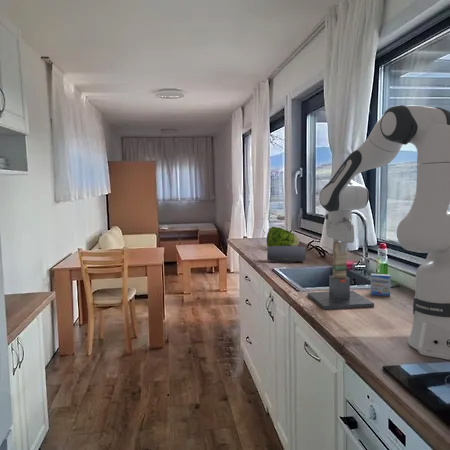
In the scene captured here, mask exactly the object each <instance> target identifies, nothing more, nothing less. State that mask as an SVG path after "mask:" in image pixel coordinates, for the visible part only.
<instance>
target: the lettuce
mask: <svg viewBox="0 0 450 450" xmlns="http://www.w3.org/2000/svg"><path fill="white" fill-rule="evenodd" d="M299 244H300V239H299V237H298V236H297V235H295V234H294V233H292V232H291V231H289V230H287V229H284V228H282V227H277V226H271V227H270V228H269V229H268V231H267V235H266V246H267V248H268V247H270V246H299Z"/></svg>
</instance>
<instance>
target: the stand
mask: <svg viewBox="0 0 450 450" xmlns="http://www.w3.org/2000/svg"><path fill="white" fill-rule="evenodd" d="M328 278H329V280H328V281H329V282H328V289H329V290H328V291H318V292H317V291H314V292H313V291H312V292H307V297H308V298H310V300H312V301H313V302H314V303H315V304H316V305H318V307H320V308H321V309H322V310H324V311H326V310H327V311H328V310H346V309H363V308H365V309H366V308H375V303H374V302H373V301H372V300H369V299H368V298H366V297H365V296H363V295H361V294H359V293H357V292H356V291H354V290H351V278H350V277H348V276H346V278H339V279H336V278H334V277H333V275H329V277H328Z"/></svg>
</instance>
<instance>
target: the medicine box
mask: <svg viewBox="0 0 450 450" xmlns="http://www.w3.org/2000/svg"><path fill="white" fill-rule="evenodd" d="M391 280H392V279H391V274H389V273H388V274H387V273H384V274H383V273H371V274H370V295H371V296H382V297H390V296H391Z"/></svg>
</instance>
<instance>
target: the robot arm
mask: <svg viewBox="0 0 450 450" xmlns="http://www.w3.org/2000/svg"><path fill="white" fill-rule="evenodd" d="M371 129H372V130H371V132H370V133H369V135H368V136H367V138H366V139H365V141H364V142H363V143H362V144H361V145H360V146H359V147H357V149H355V150H353V152H350V154H349V155H348V156H347V157H346V158H345V160H344V161H343V162H342V163H341V165H340V167H339V168H338V169H337V170H336V172H335V173H334V174H333V177H332V178H331V179H330V181H328V182H327V183H326V184H325V185H324V186H323V187H322V189H321V190H320V193H319V203H320V205H321V207H323V209H325V210H326V211H327V213H326V214H325V216H324V217H325V218H324V219H325V220H326V222H325V224H326V225H325V227H326V229H325V231H326V235H327V237H328V238H330V239H332V243H333V242H340V244H341V247H340V252H342V253H343V252H345V248H346V245H347V244H349V243H350V244H352V243H353V244H354V242H355V228H354V227H355V226H354V224H353V223H352V218H353V217H352V216H353V215H352V212H353V211H352V210H361V209H364V208H366V206H367V205H368V203H369V200H370V194H369V193H370V192H369V190H368V187H366V186H365V185H363V184H360V183H358V182H355V181H354V180H353V179H354V177H356V176H357V175H359V174H361V173H363V172H366V171H369V170H372V169H377V168H381V167H385V166H387V165H389V164H390V163H391V162H393V160H394V159H395V158H396V157H397V156H398V153H399V152H400V150H401V148H402V147H403V145H405V146H406V145H408V144H412V145H413V146H414V147H415V148H416V189H415V194H414V199H413V201H412V205H411V207H410V209H409V211H408V213H407V214H406V216H404V218H402V220H401V221H400V222H399V223H398V225H397V228H396V238H397V241H398V244H399V245H400V246H401V247H402V248H403V250H406V251H409V252H414V253H419V254H420V253H421V254H425V253H426V254H427V253H428V254H427V255H426V258H425V260H424V261H423V262H422V264H421V265H419V266H418V268H417V269H416V272H415V290H414V291H415V292H414V293H415V295H414V296H413V299H412V300H413V301H412V311H413V312H412V314H413V321H412V325H411V326H412V327H411V331H410V334H409V337H408V340H407V343H408V345H409V346H410V347H411V348H413V349H415V350H417V351H418V353H419V354H420V355H422V356H426V357H432V358H437V359H444V360H448V361H450V212H448V210H449V207H450V111H449V110H447V109H445V108H442V107H432V106H425V105H419V104H418V105H417V104H415V105H413V104H412V105H411V104H410V105H395V106H392V107H389V108H387V109H386V110H385V111H384V112H383V114H382V116H381V117H380V118H379V119H378V120H377V121H376V123H375V125H374V127H373V128H371ZM347 246H348V245H347Z"/></svg>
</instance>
